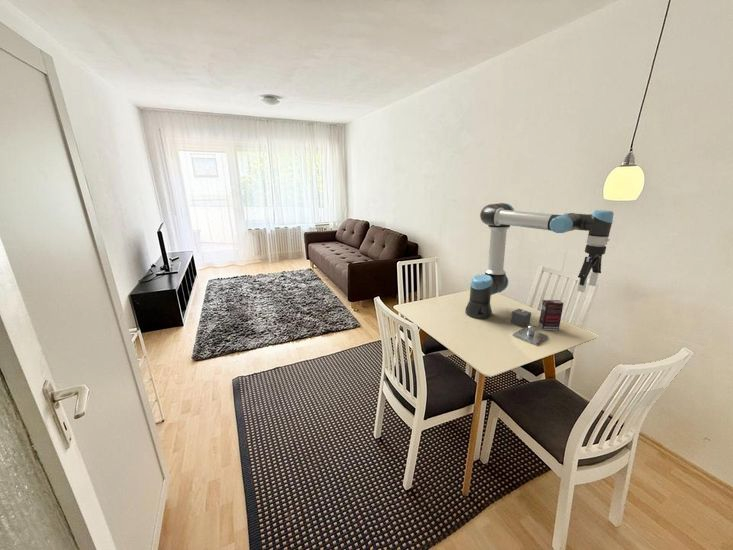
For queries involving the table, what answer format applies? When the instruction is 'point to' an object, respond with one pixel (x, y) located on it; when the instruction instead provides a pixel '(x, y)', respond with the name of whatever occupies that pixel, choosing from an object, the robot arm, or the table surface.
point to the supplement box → (550, 314)
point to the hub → (530, 335)
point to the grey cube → (521, 317)
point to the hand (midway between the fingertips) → (586, 288)
